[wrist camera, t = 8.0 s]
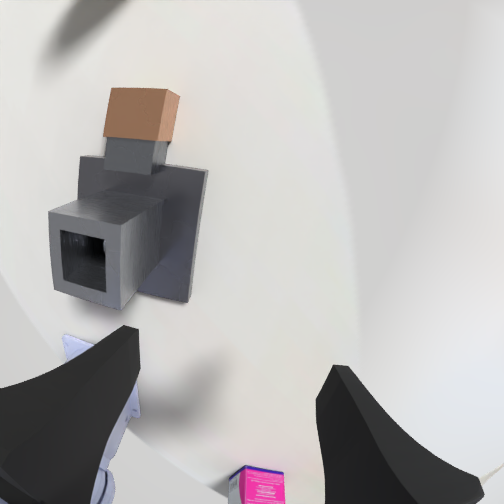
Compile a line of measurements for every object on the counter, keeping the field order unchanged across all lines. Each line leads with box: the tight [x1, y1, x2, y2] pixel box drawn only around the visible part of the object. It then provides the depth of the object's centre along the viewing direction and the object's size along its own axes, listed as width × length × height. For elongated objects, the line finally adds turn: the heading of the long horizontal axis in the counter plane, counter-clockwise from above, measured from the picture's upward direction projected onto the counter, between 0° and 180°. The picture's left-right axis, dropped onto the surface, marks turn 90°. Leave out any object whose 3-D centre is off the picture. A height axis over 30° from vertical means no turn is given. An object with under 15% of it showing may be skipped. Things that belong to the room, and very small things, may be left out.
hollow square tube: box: [48, 190, 164, 310], centre depth 15 cm, size 4×4×6 cm
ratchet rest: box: [78, 88, 208, 303], centre depth 17 cm, size 14×9×4 cm, turn 169°
